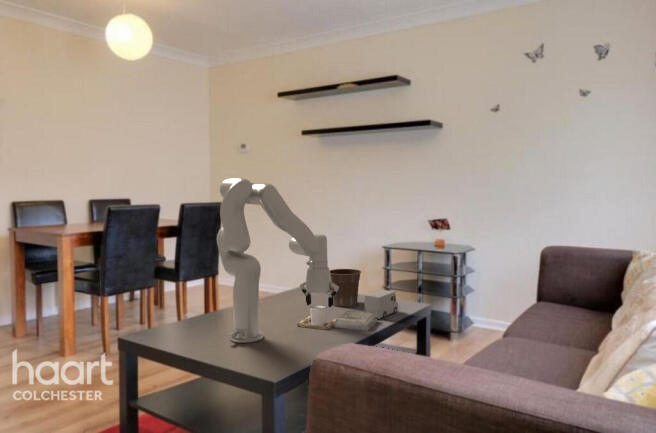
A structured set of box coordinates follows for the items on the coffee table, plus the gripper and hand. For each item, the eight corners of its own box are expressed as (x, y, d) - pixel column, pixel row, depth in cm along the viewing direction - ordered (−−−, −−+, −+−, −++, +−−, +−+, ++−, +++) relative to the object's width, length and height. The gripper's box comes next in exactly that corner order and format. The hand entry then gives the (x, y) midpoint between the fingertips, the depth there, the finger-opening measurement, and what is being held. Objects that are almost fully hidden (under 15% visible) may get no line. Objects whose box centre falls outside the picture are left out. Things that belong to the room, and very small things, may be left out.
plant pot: (320, 304, 234) (320, 271, 233) (344, 298, 245) (344, 267, 244) (343, 310, 222) (344, 275, 221) (368, 304, 233) (368, 271, 232)
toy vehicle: (399, 312, 219) (399, 290, 219) (379, 321, 205) (379, 297, 204) (382, 309, 224) (382, 288, 224) (362, 317, 210) (362, 295, 209)
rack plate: (367, 330, 191) (367, 321, 190) (334, 327, 196) (334, 318, 196) (377, 321, 204) (377, 312, 203) (345, 318, 209) (346, 309, 209)
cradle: (326, 329, 192) (326, 326, 192) (297, 326, 197) (297, 323, 197) (337, 321, 203) (337, 319, 203) (309, 318, 208) (309, 316, 208)
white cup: (316, 327, 196) (316, 310, 195) (306, 323, 201) (306, 306, 201) (329, 324, 200) (329, 307, 199) (320, 320, 205) (320, 304, 205)
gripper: (295, 265, 199) (297, 306, 200) (334, 267, 192) (336, 309, 194) (303, 262, 206) (304, 301, 207) (341, 264, 199) (342, 304, 201)
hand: (319, 305), depth 201 cm, fingers open, 9 cm apart
